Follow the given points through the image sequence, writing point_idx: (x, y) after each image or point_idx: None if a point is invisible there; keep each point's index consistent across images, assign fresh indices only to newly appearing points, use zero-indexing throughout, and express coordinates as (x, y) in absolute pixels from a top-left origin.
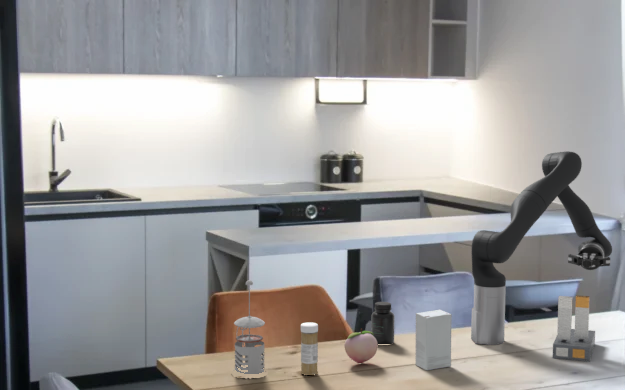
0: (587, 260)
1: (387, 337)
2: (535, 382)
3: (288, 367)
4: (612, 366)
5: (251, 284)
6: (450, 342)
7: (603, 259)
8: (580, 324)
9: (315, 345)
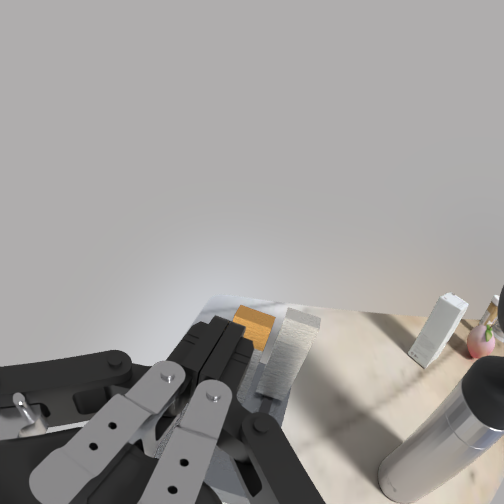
0: (226, 320)
1: None
2: (311, 310)
3: (496, 346)
4: None
5: None
6: (422, 328)
7: (61, 365)
8: None
9: (486, 310)
